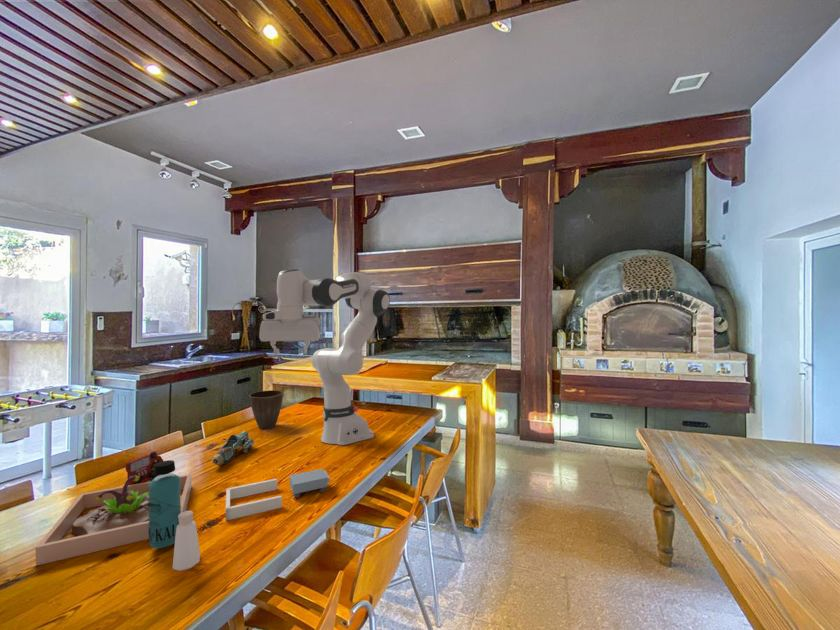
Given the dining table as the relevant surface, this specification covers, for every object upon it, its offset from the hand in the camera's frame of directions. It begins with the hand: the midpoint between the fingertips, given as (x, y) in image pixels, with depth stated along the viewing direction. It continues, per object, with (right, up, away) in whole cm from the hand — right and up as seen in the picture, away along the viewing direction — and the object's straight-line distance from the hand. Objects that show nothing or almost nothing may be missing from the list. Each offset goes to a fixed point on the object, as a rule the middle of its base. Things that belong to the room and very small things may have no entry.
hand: (290, 353), depth 131 cm
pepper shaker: (-6, -41, -49) cm, 64 cm away
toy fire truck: (-41, -41, -13) cm, 59 cm away
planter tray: (-33, -41, -32) cm, 61 cm away
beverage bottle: (-14, -41, -43) cm, 62 cm away
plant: (-33, -42, -31) cm, 62 cm away
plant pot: (-28, -40, +47) cm, 68 cm away
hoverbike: (-26, -41, +11) cm, 50 cm away
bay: (-2, -41, -24) cm, 47 cm away
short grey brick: (+11, -40, -17) cm, 45 cm away
